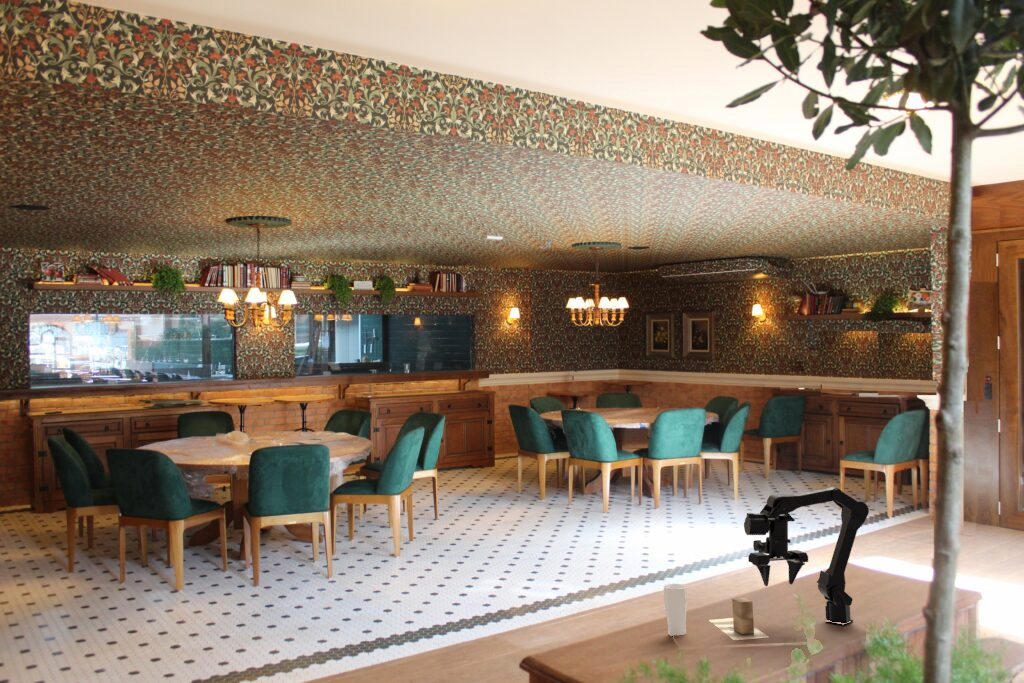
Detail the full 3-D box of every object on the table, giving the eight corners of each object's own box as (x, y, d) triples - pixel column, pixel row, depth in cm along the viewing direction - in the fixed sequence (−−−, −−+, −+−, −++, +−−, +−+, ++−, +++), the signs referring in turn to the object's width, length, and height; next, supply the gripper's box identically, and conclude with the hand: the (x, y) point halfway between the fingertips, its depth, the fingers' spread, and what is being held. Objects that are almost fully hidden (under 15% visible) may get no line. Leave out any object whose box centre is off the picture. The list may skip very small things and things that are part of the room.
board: (708, 622, 275) (708, 619, 275) (740, 619, 276) (740, 617, 276) (733, 642, 253) (733, 640, 253) (769, 639, 254) (769, 637, 254)
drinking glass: (675, 640, 258) (672, 590, 259) (661, 634, 264) (659, 585, 265) (693, 636, 261) (690, 586, 262) (679, 630, 267) (676, 582, 268)
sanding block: (745, 629, 263) (743, 597, 263) (754, 634, 258) (752, 601, 258) (733, 631, 262) (732, 598, 262) (742, 635, 257) (740, 602, 257)
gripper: (787, 529, 279) (787, 577, 279) (738, 532, 273) (738, 581, 273) (809, 535, 269) (809, 585, 268) (759, 538, 263) (759, 589, 262)
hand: (778, 585), depth 268 cm, fingers open, 9 cm apart
